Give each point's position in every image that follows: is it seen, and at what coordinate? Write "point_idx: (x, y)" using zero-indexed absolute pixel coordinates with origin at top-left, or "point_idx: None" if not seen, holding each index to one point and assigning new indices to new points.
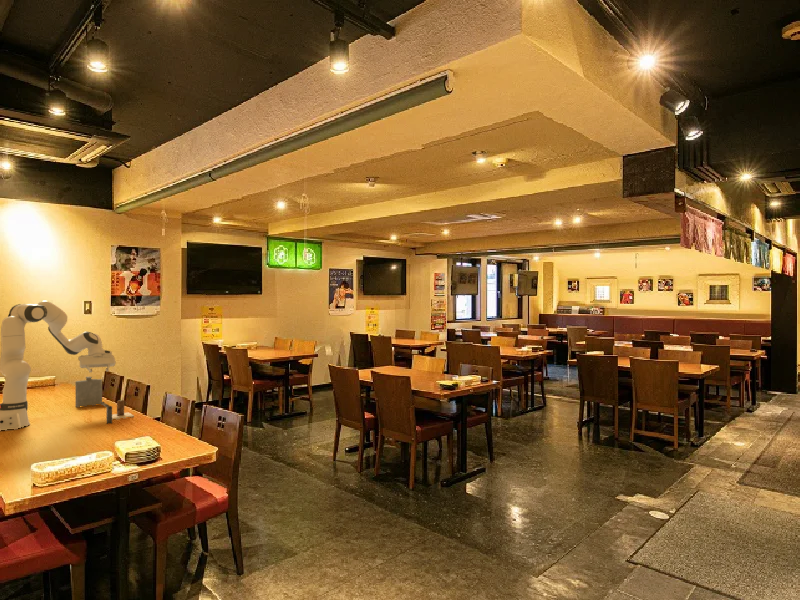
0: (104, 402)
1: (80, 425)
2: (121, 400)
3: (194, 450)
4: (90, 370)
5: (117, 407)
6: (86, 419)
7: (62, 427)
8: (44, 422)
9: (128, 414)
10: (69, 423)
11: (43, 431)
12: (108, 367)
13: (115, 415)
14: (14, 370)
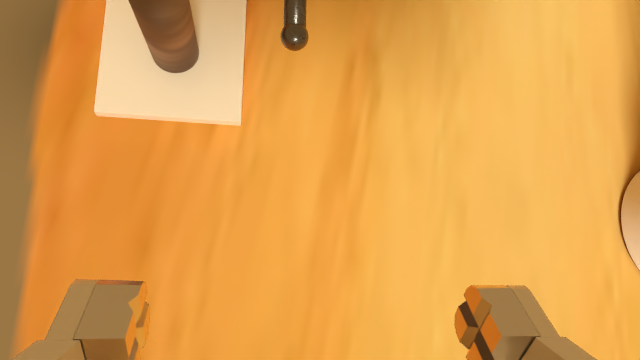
0: (283, 28)
1: (415, 3)
2: (145, 5)
3: None
4: (514, 287)
5: (192, 17)
6: (362, 140)
7: (492, 26)
8: (558, 230)
9: (124, 38)
10: (454, 98)
11: (566, 6)
12: (42, 348)
13: (203, 72)
14: None
